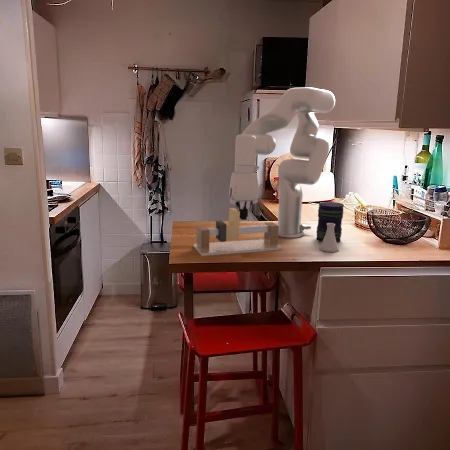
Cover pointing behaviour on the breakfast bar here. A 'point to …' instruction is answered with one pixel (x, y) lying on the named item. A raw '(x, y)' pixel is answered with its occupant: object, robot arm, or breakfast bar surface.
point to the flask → (329, 240)
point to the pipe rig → (238, 246)
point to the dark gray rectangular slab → (221, 231)
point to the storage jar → (329, 219)
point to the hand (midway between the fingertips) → (243, 219)
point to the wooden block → (233, 224)
